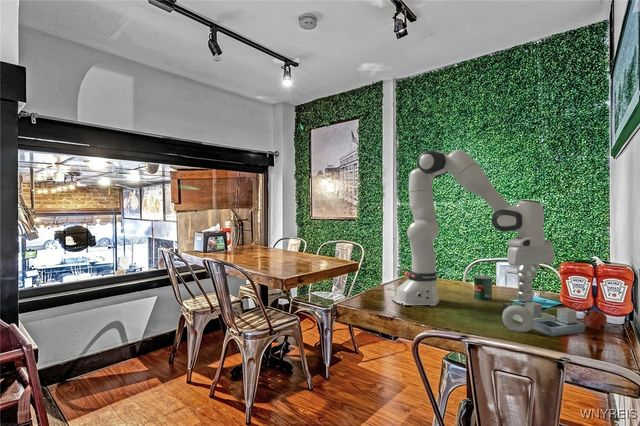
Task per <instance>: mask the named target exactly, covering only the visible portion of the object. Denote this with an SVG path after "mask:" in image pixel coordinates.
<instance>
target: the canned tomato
mask: <svg viewBox="0 0 640 426" xmlns="http://www.w3.org/2000/svg"><path fill="white" fill-rule="evenodd" d="M473 279H474V280H473V281H474V282H473V291H474V292H473V299H474V300H476V301H477V302H479V301H480V302H491V301H492V300H493V298H492V297H493V277H492V276H489V275H483V274H482V275H481V274H479V275H474V278H473Z"/></svg>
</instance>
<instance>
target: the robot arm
mask: <svg viewBox="0 0 640 426" xmlns="http://www.w3.org/2000/svg"><path fill="white" fill-rule="evenodd" d="M416 161H417V162H416V163H417V167H418V168H417V167H416V168H415V169H412V170H411V171H410V173H409V178H408V196H409V199H408V200H409V210H410V211H411V213H412V216H413V222H412V223H411V224H410V225H409V226H408V227H407V231H406V235H407V237H408V241H409V246H410V251H411V252H410V254H411V271H410V272H409V271H404V273H403V275H404V276H407V277H408V278H407V279H405V281H404V282H403V283H402V284H400V285H399V286H398V287H397V288H396V293H395V295H394V296H392V297H391V298H392V300H394V301H395V302H397V303H400V304H401V303H403V305H430V306H429V307H435V306H438V305H437V304H439V303H440V299H439V296H438V291H437V277H438V276H437V269H436V267H437V266H436V265H437V264H436V263H437V259H436V257H437V256H436V253H435V249H434V247H435V246H434V240H435V239H436V238H437V237H438V235H439V232H440V228H439V225H438V219H437V214H436V210H435V205H434V191H433V181H434V179H437V178H440V177H442V176H444V175H446V174H447V173H449V174H451V175H452V177H453V179H455V181H456V182H457V183H458V184H459V185H460V186H461V187H462V188H463V189H464V190H465V191H467V192H470V193H472V194H475V195H476V196H479V197H480V198H482V200H483V201H485V202H486V203H487V205H488V206H489V207H490V208H491V209H492V210H493V211H494V213H493V214H492V216H491V224H492V226H493V228H494V229H496V230H497V231H499V232H503V233H509V232H517V235H516V236H514V237H513V238H511V239H509V240H507V245H508V248H507V263H508V264H509V266H514V267H519V266H521V265H524V267H525V269H526V270H527V275H528V276H532V277H533V276H537V272H538V269H539V268H540V264H543V265H544V264H552V263H554V262H555V260H556V257H555V250H554V246H553V243H552V241H551V240H549V239H545V231H544V224H545V214H544V213H545V211H544V208H543V207H544V206H543V205H542V203H541V202H539V201H537V200H531V199H520V200H518V202H515V203H514V204H512V205H510V204H509V203H508V202H507V200H506V199H505V198H504V197H503V196H502V195H501V194H500V192H499V191H497V189H496V188H495V187H494V185H493V184H492V182H491V181H490V180H489V178H488V176H487V174H486V173H485V171H484V170H483V168H482V167H481V165H480V164H479V163H478V162H477V161H476V160H475V159H474V158H473V157H472V156H471V154H469V153H467V152H466V151H465V150H463V149H455V150H453V151H451V152H450V153H449V154H448V153H445V152H442V151H440V150H434V149H433V150H432V149H431V150H430V149H429V150H425V151H423V152H422V153H421V154H419V156H418V158H417V160H416ZM531 268H532V270H531ZM392 300H391V301H392Z"/></svg>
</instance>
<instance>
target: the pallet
mask: <svg viewBox="0 0 640 426" xmlns="http://www.w3.org/2000/svg"><path fill="white" fill-rule="evenodd" d="M532 329H533V330H535V331H539V332H541V333H543V334H546V335H547V336H551V337H557V336H563V335H570V334H578V333H586V331H585V330H586V325H585V323H582V322H578V321H576V324H573V325H566V324H563V323H560V322H557V318H556V319H549V320H541V321H534V324H533V327H532Z"/></svg>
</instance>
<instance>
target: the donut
mask: <svg viewBox="0 0 640 426" xmlns="http://www.w3.org/2000/svg"><path fill="white" fill-rule="evenodd" d="M502 311H503V310H502ZM514 315H520V316H521V317H522V318H523V322H519V323H518V322H515V320H514V319H512V318H513V316H514ZM501 317H502V323H503V324H504V326H505V327H506V328H507V329H508V330H510V331H511V332H518V333H528V332H529V331H531V330H532V329H533V324H534V319H533V316H532V314H531V313H530V312H529V311H528V310H527V309H526V308H524V307H522V306H519V305H512V306H509V307H507V308H506V309H505V310H504V311H503V312H502V316H501Z"/></svg>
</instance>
